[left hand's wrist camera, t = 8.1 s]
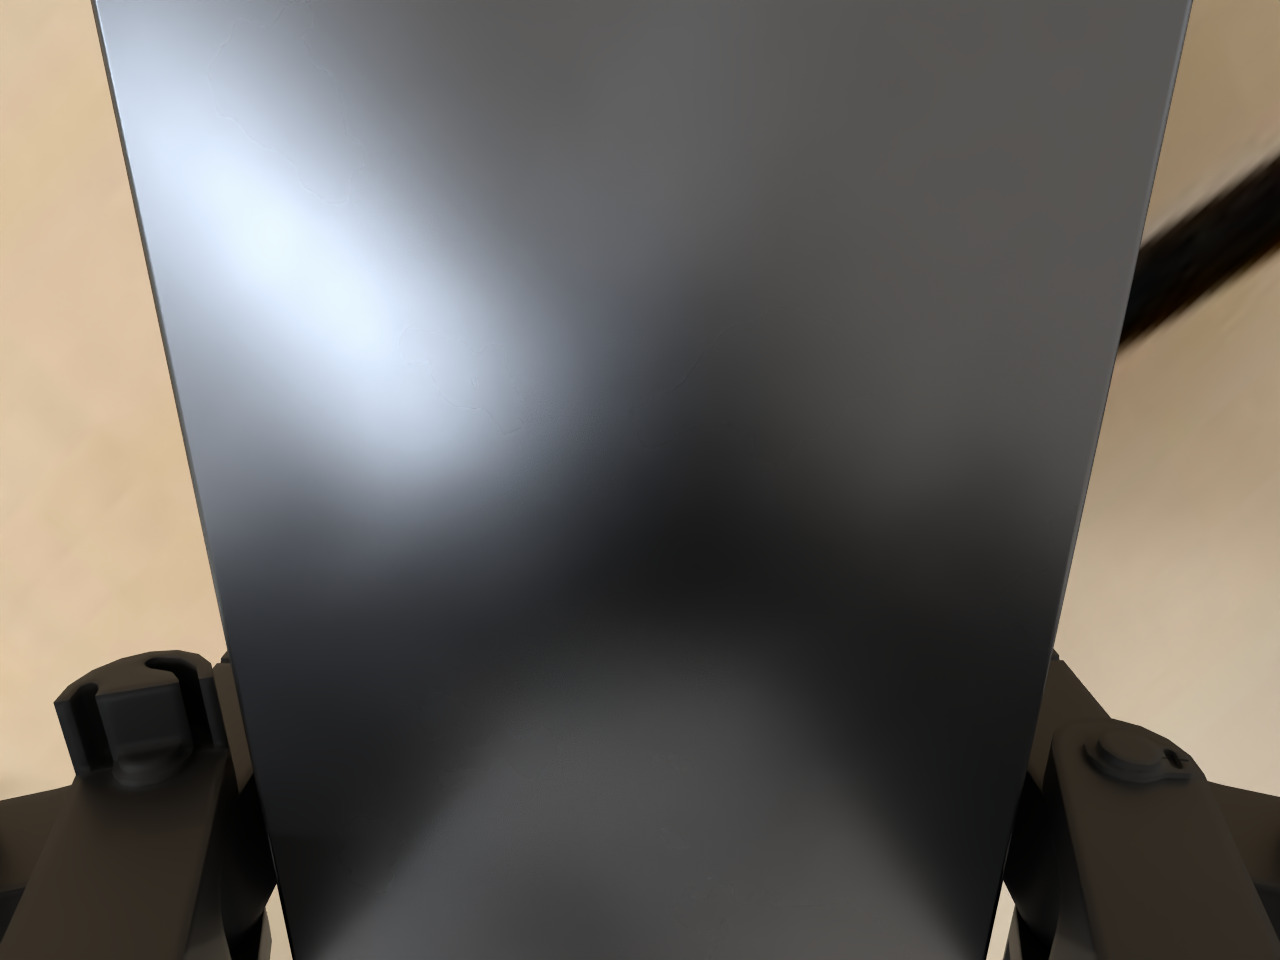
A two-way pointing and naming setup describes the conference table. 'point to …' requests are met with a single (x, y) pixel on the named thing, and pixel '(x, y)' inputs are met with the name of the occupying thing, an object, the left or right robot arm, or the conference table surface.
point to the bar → (640, 443)
